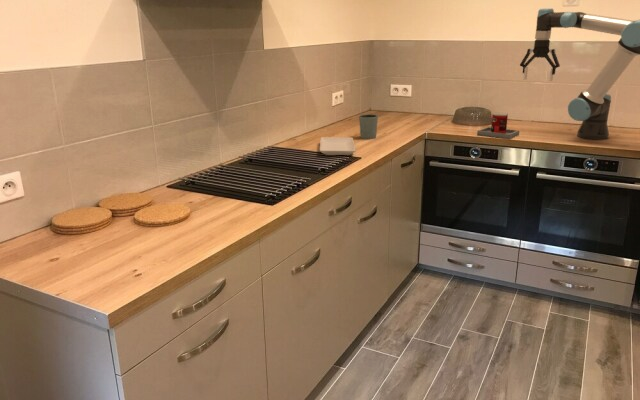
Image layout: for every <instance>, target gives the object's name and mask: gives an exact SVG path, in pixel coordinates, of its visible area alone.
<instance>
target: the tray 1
mask: <svg viewBox="0 0 640 400" xmlns="http://www.w3.org/2000/svg"><path fill="white" fill-rule="evenodd" d="M319 142H320V143H319V152H321V153H322V154H324V155H325V156H327V155H347V156H350V155H352V154H354V153H355V152H356V147H355V143H354V138H353V137H352V136H351V137H343V136H328V137H327V136H322V137H320V141H319Z"/></svg>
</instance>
